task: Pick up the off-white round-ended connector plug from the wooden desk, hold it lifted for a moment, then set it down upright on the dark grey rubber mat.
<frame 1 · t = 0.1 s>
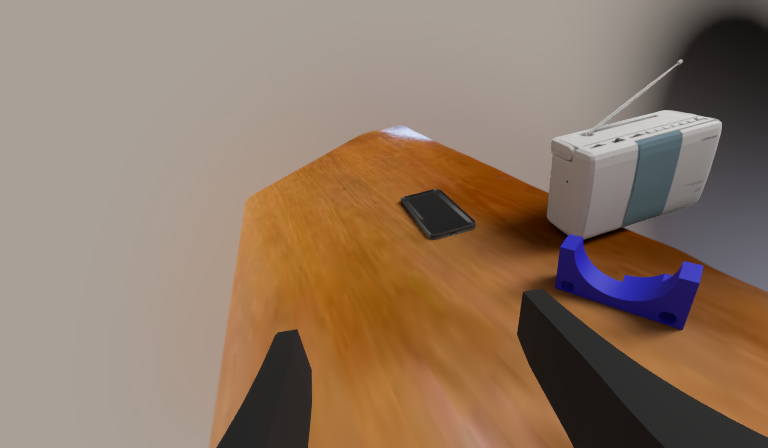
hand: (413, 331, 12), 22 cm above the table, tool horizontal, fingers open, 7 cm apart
stereo radio cassette player: (617, 218, 55), on the table
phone: (435, 216, 63), on the table
blue notched block: (617, 297, 42), on the table
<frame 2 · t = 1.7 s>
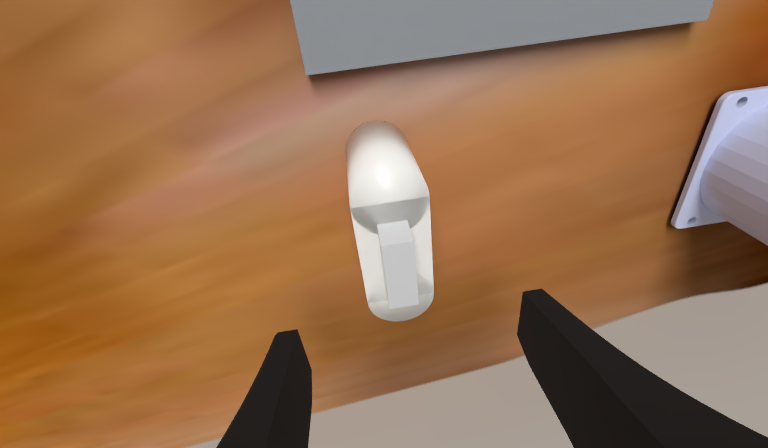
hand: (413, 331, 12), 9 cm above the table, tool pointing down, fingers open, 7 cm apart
connector plug: (382, 195, 19), on the table
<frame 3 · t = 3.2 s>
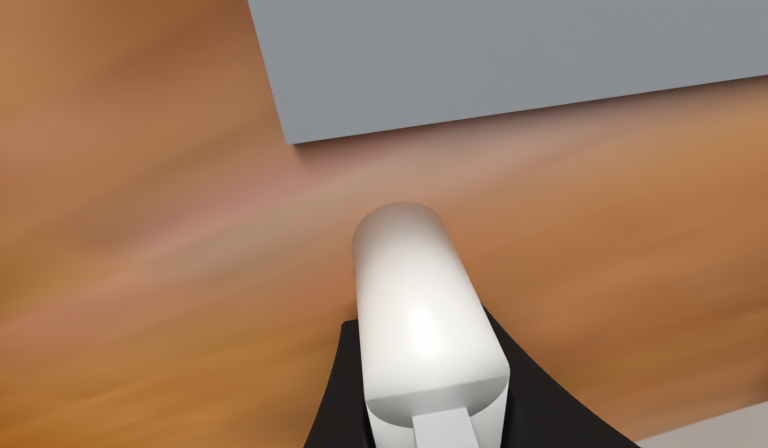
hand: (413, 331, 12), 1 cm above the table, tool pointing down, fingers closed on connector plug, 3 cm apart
connector plug: (406, 300, 13), on the table, touching gripper
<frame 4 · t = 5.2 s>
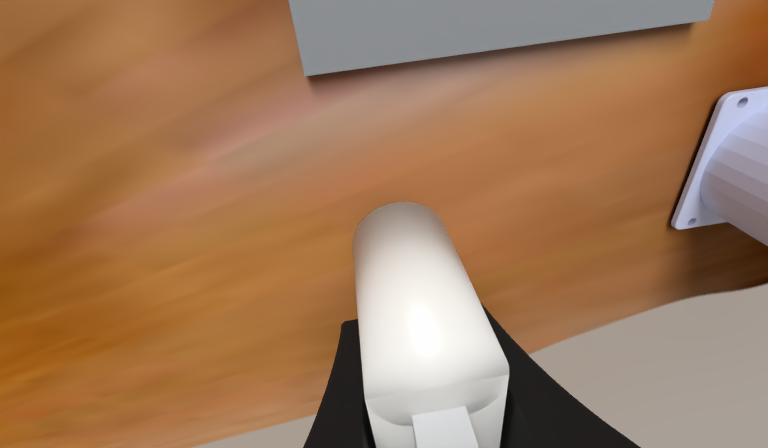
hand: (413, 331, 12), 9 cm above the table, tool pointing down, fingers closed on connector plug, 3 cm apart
connector plug: (405, 299, 13), point 7 cm above the table, touching gripper
when the fingers open (3 cm above the table, at t = 7.7 s): connector plug drops 1 cm, resting on desk mat.
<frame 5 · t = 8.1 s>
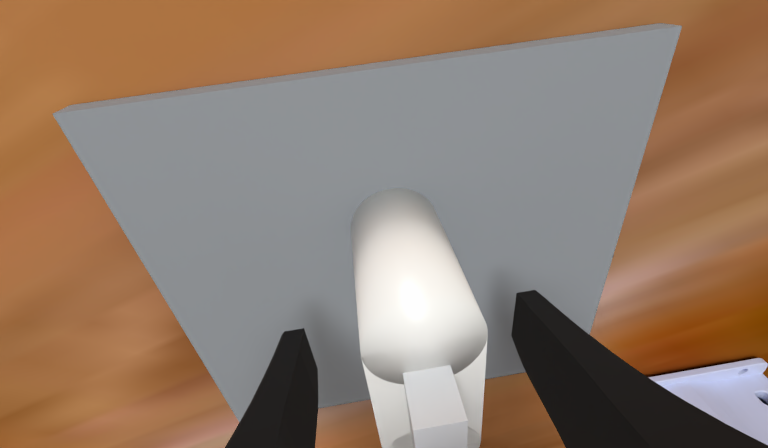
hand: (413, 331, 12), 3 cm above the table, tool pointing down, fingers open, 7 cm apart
connector plug: (400, 280, 14), point 1 cm above the table, touching desk mat
desk mat: (397, 264, 15), on the table
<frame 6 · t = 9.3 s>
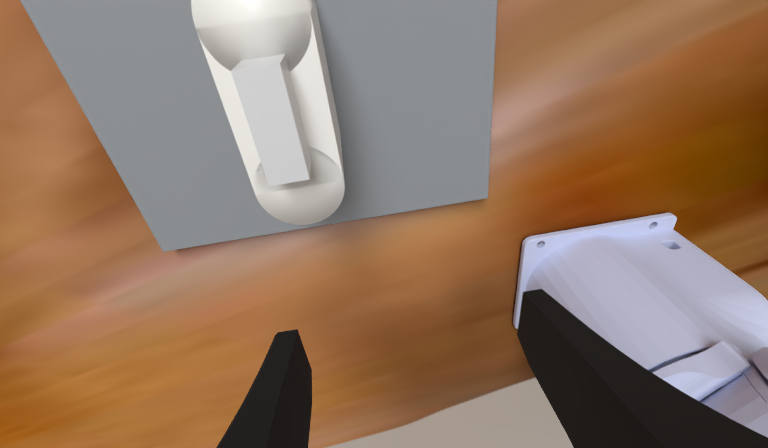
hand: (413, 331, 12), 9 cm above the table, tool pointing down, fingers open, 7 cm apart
connector plug: (292, 77, 15), point 1 cm above the table, touching desk mat
desk mat: (293, 69, 16), on the table
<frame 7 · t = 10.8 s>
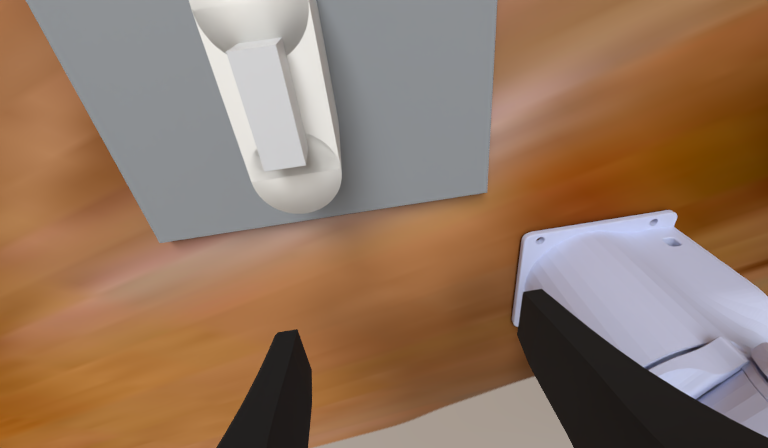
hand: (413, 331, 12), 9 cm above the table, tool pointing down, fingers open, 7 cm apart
connector plug: (291, 66, 15), point 1 cm above the table, touching desk mat
desk mat: (292, 59, 16), on the table
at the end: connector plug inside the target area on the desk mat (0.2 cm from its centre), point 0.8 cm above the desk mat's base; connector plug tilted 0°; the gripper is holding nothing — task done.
